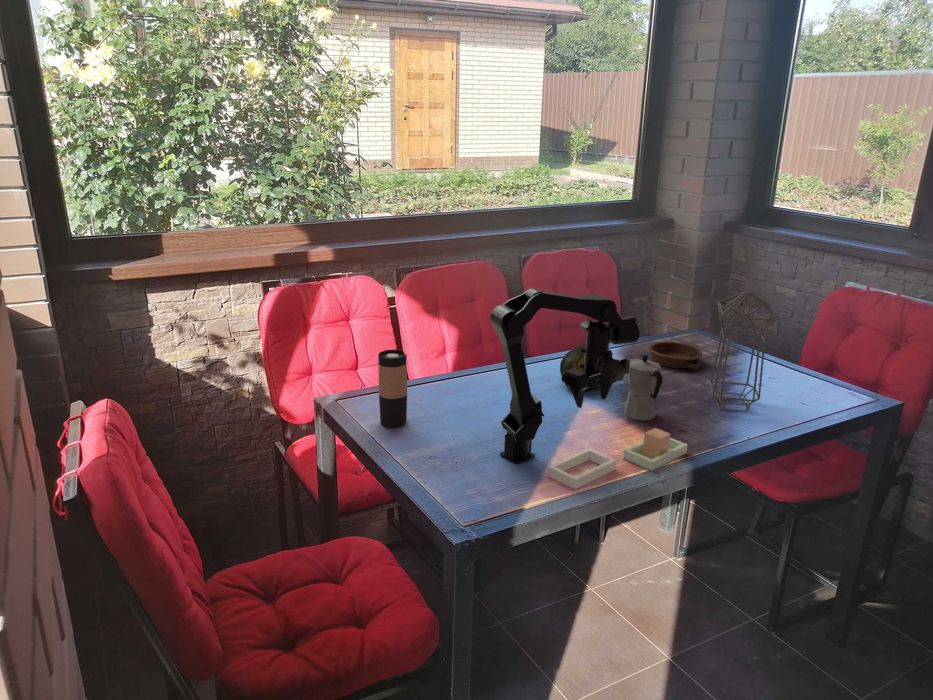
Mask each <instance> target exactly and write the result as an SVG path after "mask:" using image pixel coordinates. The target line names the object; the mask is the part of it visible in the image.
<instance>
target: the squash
mask: <svg viewBox="0 0 933 700" xmlns="http://www.w3.org/2000/svg"><path fill="white" fill-rule="evenodd" d="M585 346H586V342H585V343H582V344H580V345H578V346H576V347H574V348H573V349H571V350H569V351H568V352H567V353H565V354H564V355H563V356H562V359H561V361H560V364H559V373H560V376H561V377H562V373H563V372H564V371H566V370H569V369H573V368H575V369H578V370H580V371H585V370H584V368H581V367H580V363H584V357H585V353H583V352H581V351H582V348H584V347H585ZM563 383H564V384H565V382H563ZM588 385H589V387H588V388H587V389H593V388H596V387H600V385H599V375H596V376H593V377H590V380H589V383H588ZM565 386H566V387H567V388H569V386H568V384H565Z"/></svg>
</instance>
